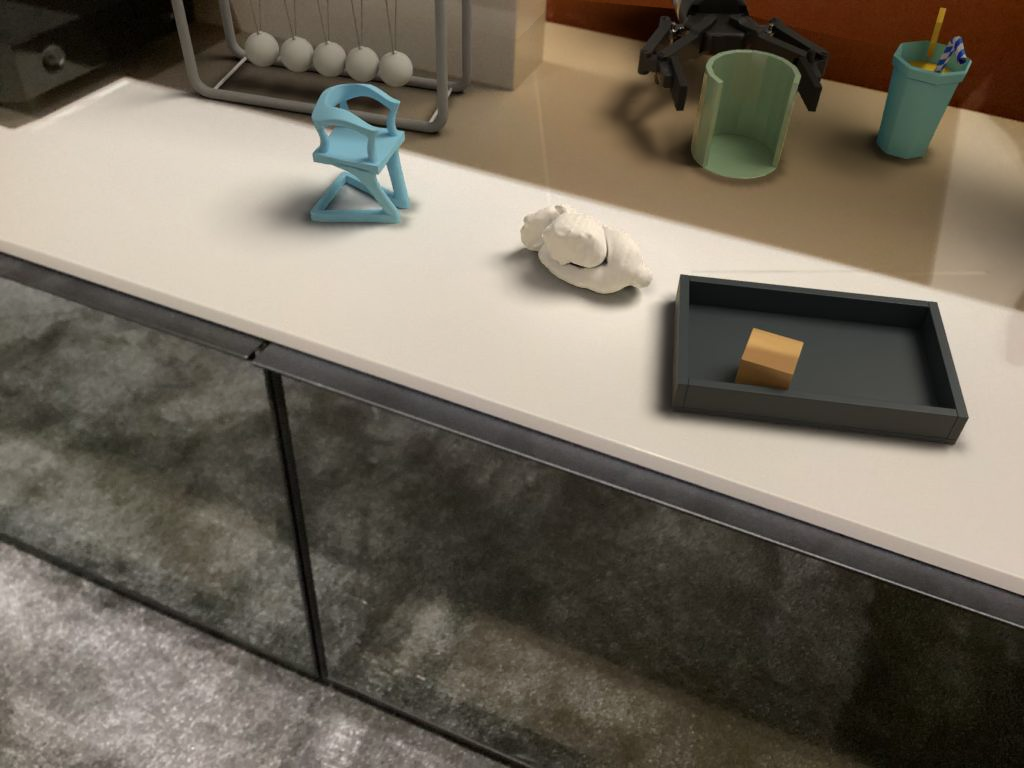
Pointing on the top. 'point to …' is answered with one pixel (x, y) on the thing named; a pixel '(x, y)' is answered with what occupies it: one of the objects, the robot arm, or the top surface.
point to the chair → (359, 155)
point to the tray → (818, 359)
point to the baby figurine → (585, 250)
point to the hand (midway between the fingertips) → (749, 99)
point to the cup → (920, 92)
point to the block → (768, 360)
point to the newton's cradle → (336, 63)
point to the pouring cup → (744, 113)
